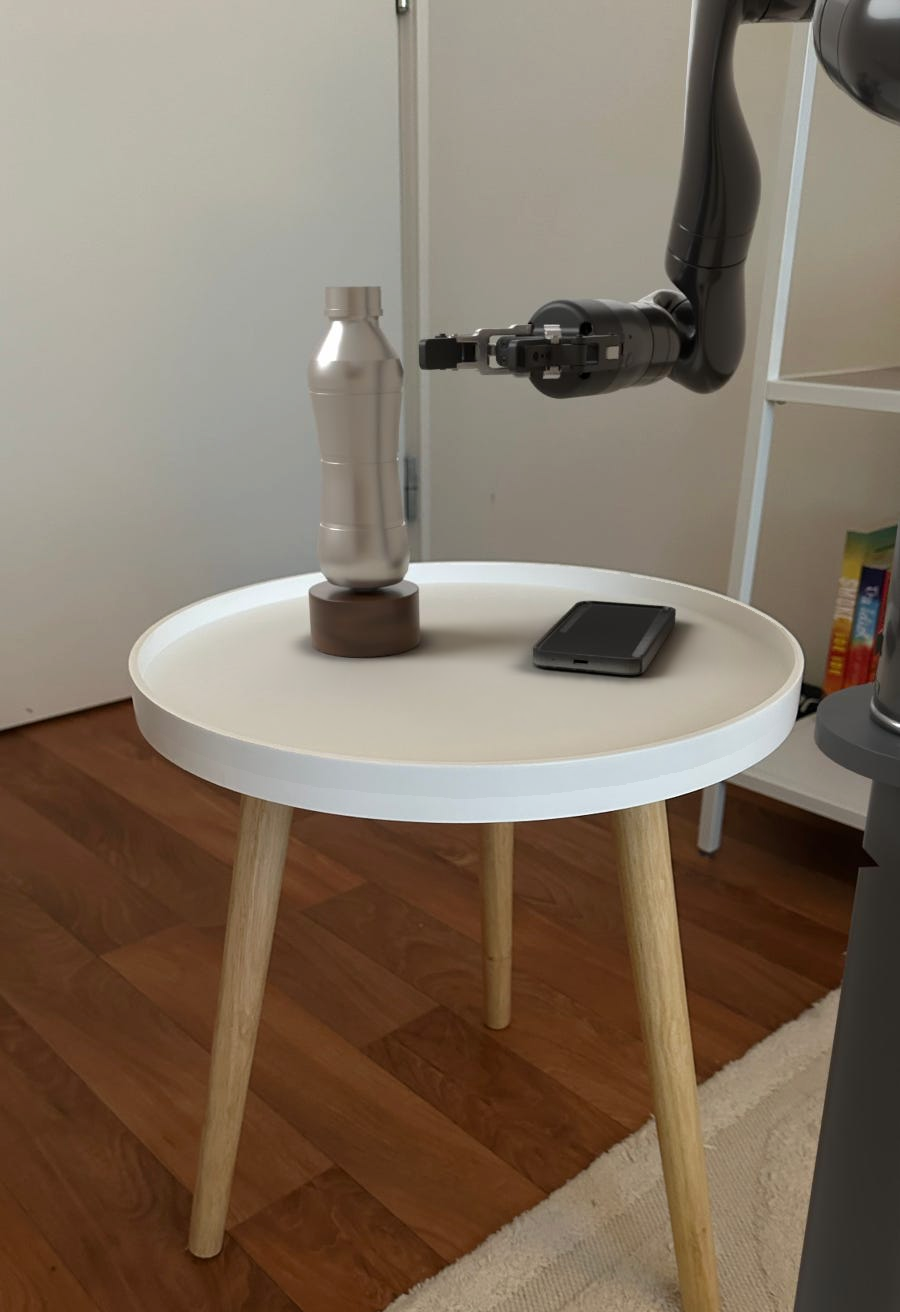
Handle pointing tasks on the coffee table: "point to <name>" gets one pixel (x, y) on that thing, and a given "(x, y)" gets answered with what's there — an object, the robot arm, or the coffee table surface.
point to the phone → (605, 637)
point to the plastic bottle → (358, 443)
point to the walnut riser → (364, 619)
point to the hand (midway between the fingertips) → (466, 355)
